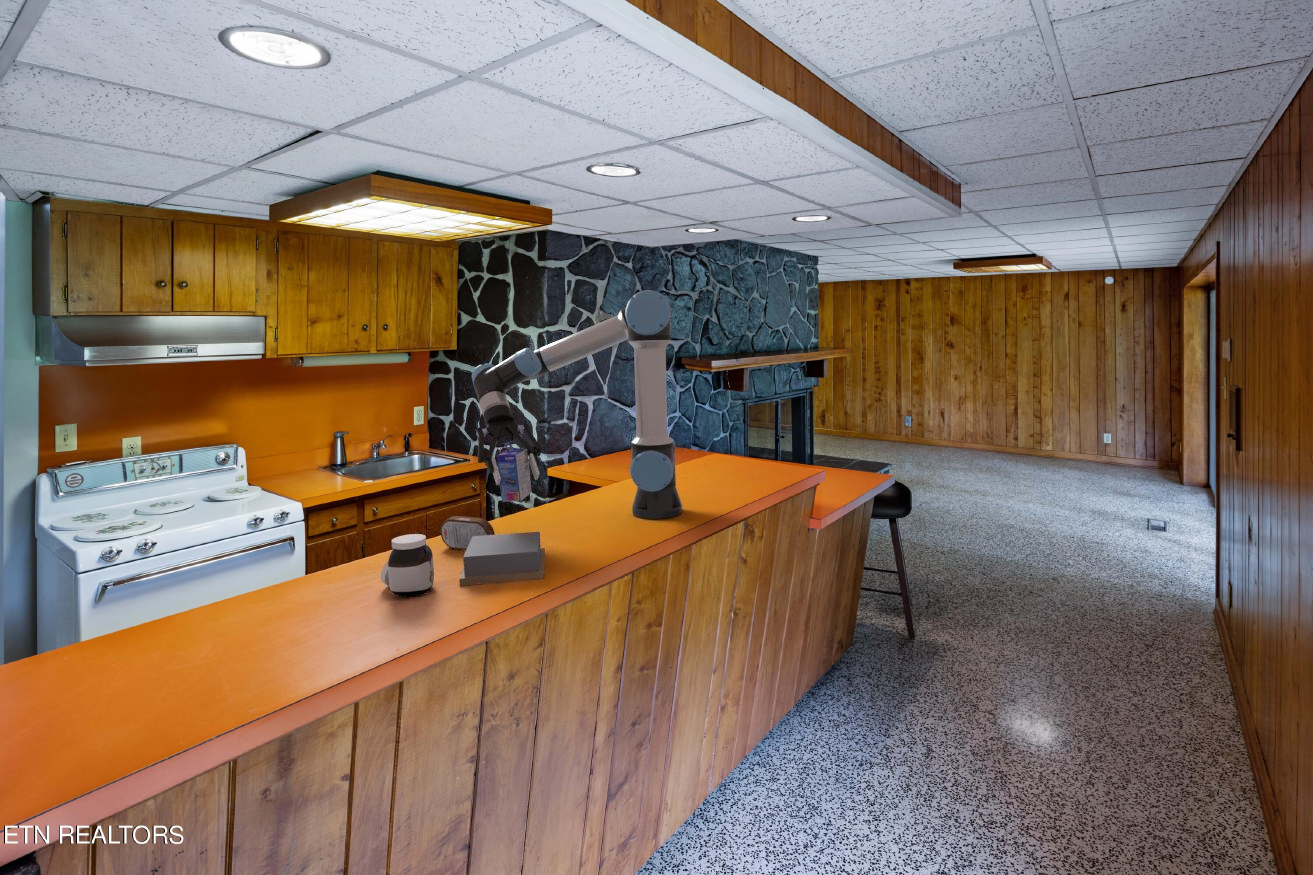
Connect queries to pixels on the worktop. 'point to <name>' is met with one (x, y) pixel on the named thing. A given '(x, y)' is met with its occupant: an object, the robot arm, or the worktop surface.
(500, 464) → the ink cartridge box
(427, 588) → the spread jar
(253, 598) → the worktop surface
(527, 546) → the block
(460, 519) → the tin
